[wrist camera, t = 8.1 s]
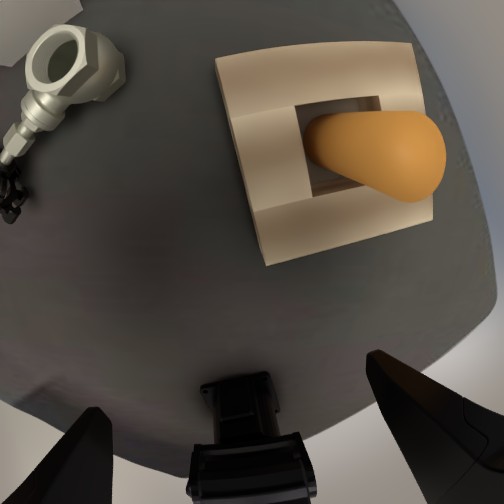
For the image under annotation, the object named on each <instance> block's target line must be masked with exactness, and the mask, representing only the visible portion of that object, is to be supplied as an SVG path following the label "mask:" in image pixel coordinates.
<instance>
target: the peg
mask: <svg viewBox="0 0 504 504" xmlns="http://www.w3.org/2000/svg"><path fill="white" fill-rule="evenodd" d="M303 145H304V149H305V152H306V154H307V156H308V157H309V159H310V160H311V161H312V162H313V163H315V164H316V165H318V166H320V167H323V168H325V169H328V170H330V171H333V172H335V173H338V174H340V175H343V176H345V177H347V178H350V179H352V180H355V181H357V182H359V183H362V184H364V185H366V186H368V187H371V188H373V189H375V190H377V191H380V192H382V193H384V194H386V195H388V196H391V197H393V198H395V199H397V200H399V201H402V202H407V203H414V202H418V201H421V200H423V199H425V198H427V197H428V196H429V195H431V194H432V193H433V192H434V190H435V189H436V188H437V186H438V185H439V183H440V181H441V179H442V176H443V174H444V170H445V164H446V150H445V144H444V140H443V137H442V135H441V133H440V131H439V129H438V127H437V126H436V125H435V123H434V122H433V121H432V120H431V119H430V118H428V117H427V116H426V115H424V114H422V113H419V112H416V111H367V112H348V113H334V114H323V115H320V116H317V117H316V118H314V119H313V120H311V121H310V123H309V124H308V125H307V127H306V129H305V131H304V135H303Z"/></svg>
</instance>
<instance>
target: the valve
mask: <svg viewBox="0 0 504 504" xmlns="http://www.w3.org/2000/svg"><path fill="white" fill-rule="evenodd" d="M25 72H26V82H27V88H28V89H30V90H29V91H28V93H27V94H26V95H25V96H24V98H23V99H22V101H21V108H22V111H23V112H22V113H21V118H22V122H14V124H13V125H12V126H11V128H10V129H9V131H8V132H7V133H6V135H5V136H4V138H3V144H4V147H5V148H4V149H3V150H2V149H0V213H1V214H2V217H3V219H4V221H5V222H6V223H8V224H13V223H14V222H15V221H16V219H17V218H18V217H19V215H20V214H21V208H20V206H22V205H23V204H24V202H25V201H26V200H27V198H28V197H29V191H28V190H27V189H26V188H25V187H24V186H23V187H22V188H21V190H17V189H16V186H15V181H16V180H17V178H18V177H19V176H20V174H21V171H20V169H19V168H18V166H17V164H16V162H15V160H14V157H20V156H22V155H24V154H25V153H26V151H27V150H28V149H29V148H30V146H31V145H32V144H33V142H34V141H35V136H34V132H41V131H43V130H45V131H53V130H54V129H55V128H56V127H57V126H58V125H59V124H60V122H61V121H62V120H63V119H64V118H65V109H66V108H67V107H68V106H69V105H70V104H79V103H85V102H88V101H91V100H94V101H100V102H104V101H105V100H107V99H108V98H109V97H110V96H111V95H112V94H113V93H114V92H115V91H116V90H117V89H119V88H120V87H121V86H122V85H123V84H124V83H125V82H126V73H125V60H124V55H123V54H122V53H121V52H119V51H118V50H116V48H115V46H114V44H113V43H112V42H111V41H110V40H109V39H108V38H107V37H105V36H104V35H102V34H99V33H96V32H91V31H89V30H88V29H86V28H83V27H78V26H72V25H64V24H54V25H53V26H52V27H50V28H49V29H48V30H47V31H46V32H45V33H44V34H43V35H42V36H41V37H40V38H39V39H38V40H37V41H36V42H35V43H34V44H33V46H32V47H31V48H30V50H29V51H28V53H27V56H26V67H25ZM6 192H7V196H6V198H5V199H4V197H5V194H6ZM12 202H13V203H14V204H15V205H16V206H17V207H16V208H14V207H13V206H12Z"/></svg>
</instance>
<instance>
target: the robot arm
mask: <svg viewBox="0 0 504 504" xmlns="http://www.w3.org/2000/svg"><path fill="white" fill-rule="evenodd" d="M366 375H367V378H368V380H369V383H370V385H371V388H372V390H373V393H374V396H375V398H376V401H377V403H378V406H379V409H380V411H381V413H382V415H383V417H384V420H385V421H386V423H387V425H388V427H389V429H390V430H391V433H392V435H393V437H394V438H395V440H396V442H397V444H398V446H399V448H400V450H401V452H402V454H403V455H404V457H405V460H406V462H407V464H408V465H409V468H410V469H411V471H412V473H413V475H414V477H415V479H416V481H417V483H418V485H419V487H420V489H421V491H422V493H423V496H424V497H425V500H426V502H427V504H504V416H503V415H501V414H498V413H496V412H493V411H491V410H489V409H486V408H484V407H482V406H480V405H478V404H476V403H474V402H472V401H470V400H469V399H467V398H465V397H462V396H461V395H459V394H457V393H456V392H454V391H452V390H450V389H449V388H447V387H445V386H443V385H441V384H440V383H438V382H436V381H434V380H432V379H431V378H429V377H427V376H426V375H424V374H422V373H420V372H418V371H417V370H415V369H413V368H411V367H410V366H408V365H406V364H404V363H403V362H401V361H399V360H397V359H396V358H394V357H392V356H390V355H389V354H387V353H385V352H384V351H382V350H379V349H377V350H374V351H371V352H369V353H368V354H367V356H366ZM264 377H265V378H264ZM200 393H201V395H202V396H203V398H204V400H205V402H206V403H207V405H208V407H209V408H210V410H211V412H212V413H213V427H214V444H208V445H201V444H194V452H192V457H191V465H190V474H189V480H188V483H187V486H186V494H187V495H188V496H190V497H191V498H192V501H193V503H194V504H311V501H310V498H313V497H316V495H317V486H316V480H315V475H314V470H313V467H312V464H311V461H310V459H309V456H308V453H307V451H306V448H305V446H304V443H303V441H302V438H301V435H300V433H299V432H294V433H292V434H288V435H283V436H280V431H279V427H278V423H277V418H276V414H277V413H279V412H280V407H279V404H278V401H277V397H276V394H275V391H274V388H273V384H272V381H271V378H270V374H269V373H267V372H263V373H259V374H255V375H250V376H246V377H242V378H237V379H233V380H228V381H223V382H218V383H213V384H208V385H203V386H201V387H200ZM112 478H113V440H112V423H111V421H110V419H109V418H108V417H107V416H106V414H105V413H104V412H103V411H102V410H101V409H100V408H99V407H88V408H87V409H86V410H85V411H84V412H83V414H82V415H81V416H80V417H79V418H78V419H77V420H76V422H75V423H74V424H73V425H72V426H71V427H70V428H69V430H68V431H67V432H66V433H65V434H64V435H63V436H62V438H61V439H60V440H59V441H58V442H57V443H56V445H55V446H54V447H53V448H52V449H51V450H50V451H49V453H48V454H47V455H46V456H45V457H44V458H43V460H42V461H41V462H40V463H39V464H38V465H37V467H36V468H35V469H34V471H32V472H31V474H30V475H29V476H28V477H27V478H26V480H25V481H24V482H23V483H22V484H21V485H20V486H19V487H18V488H17V489H16V490H15V491H14V492H13V493H12V494H11V495H10V496H9V497H8V498H7V499H6V500H5V501H4V502H3V503H2V504H112Z"/></svg>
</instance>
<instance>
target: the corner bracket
mask: <svg viewBox="0 0 504 504" xmlns="http://www.w3.org/2000/svg"><path fill="white" fill-rule="evenodd" d="M82 10H83V8H82V6H81V3H80V1H79V0H0V65H1V66H8V67H12V66H13V65H14V64H15V63H16V62H17V61H18V60H20V59H21V58H22V57H23V56H24V55H25V54H26V53H27V52H28V51H29V50H30V48H31V47H32V46H33V44H34V43H35V42H36V41H37V40H38V39H39V38H40V37H41V36H42V35H43V34H44V33H45V32H46V31H47V30H48V29H49V28H50V27H52V26H53V25H54V24H64V23H65V22H66V21H68V20H69V19H71V18H72V17H74V16H75V15H76V14H78V13H79V12H81V11H82Z"/></svg>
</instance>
